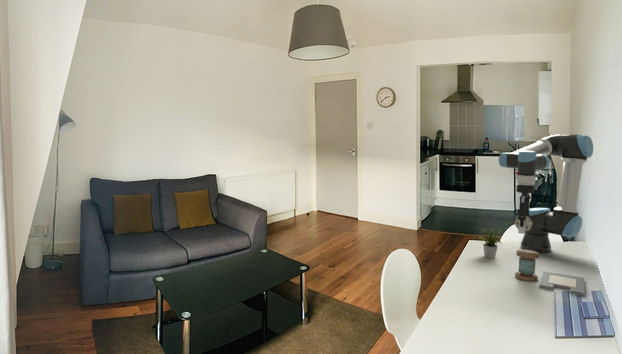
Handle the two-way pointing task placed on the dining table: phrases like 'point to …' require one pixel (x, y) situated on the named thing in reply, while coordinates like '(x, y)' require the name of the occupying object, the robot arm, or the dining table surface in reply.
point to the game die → (527, 225)
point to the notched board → (562, 282)
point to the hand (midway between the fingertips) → (523, 231)
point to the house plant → (490, 244)
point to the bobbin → (527, 265)
